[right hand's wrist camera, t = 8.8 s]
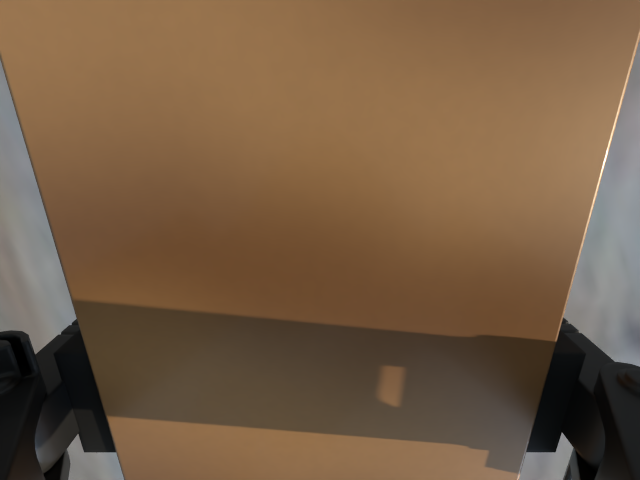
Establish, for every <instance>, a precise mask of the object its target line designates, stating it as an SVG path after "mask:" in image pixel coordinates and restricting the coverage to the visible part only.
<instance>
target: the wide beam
mask: <svg viewBox="0 0 640 480" xmlns="http://www.w3.org/2000/svg"><path fill="white" fill-rule="evenodd" d="M639 39H640V0H0V59H1V63H2V66H3V70H4V73H5V76H6V80H7V83H8V87H9V90H10V93H11V97H12V100H13V103H14V107H15V110H16V114H17V117H18V120H19V124H20V127H21V131H22V134H23V137H24V141H25V144H26V148H27V151H28V154H29V158H30V161H31V165H32V168H33V171H34V175H35V178H36V182H37V185H38V188H39V192H40V195H41V198H42V202H43V205H44V209H45V212H46V215H47V219H48V222H49V226H50V229H51V232H52V236H53V239H54V243H55V246H56V249H57V253H58V256H59V260H60V263H61V266H62V270H63V273H64V276H65V280H66V283H67V287H68V290H69V293H70V297H71V300H72V304H73V307H74V310H75V314H76V317H77V321H78V324H79V327H80V331H81V334H82V338H83V341H84V344H85V348H86V351H87V354H88V358H89V361H90V365H91V368H92V371H93V375H94V378H95V382H96V385H97V388H98V392H99V395H100V399H101V402H102V405H103V409H104V412H105V416H106V419H107V422H108V426H109V429H110V432H111V436H112V439H113V443H114V446H115V449H116V453H117V456H118V460H119V463H120V466H121V470H122V473H123V477H124V480H519V476H520V472H521V469H522V465H523V461H524V458H525V454H526V451H527V447H528V443H529V440H530V436H531V432H532V429H533V425H534V421H535V418H536V414H537V410H538V407H539V403H540V399H541V396H542V392H543V389H544V385H545V381H546V378H547V374H548V370H549V367H550V363H551V359H552V356H553V352H554V348H555V345H556V341H557V338H558V334H559V330H560V327H561V323H562V319H563V316H564V312H565V308H566V305H567V301H568V297H569V294H570V290H571V287H572V283H573V279H574V276H575V272H576V268H577V265H578V261H579V257H580V254H581V250H582V246H583V243H584V239H585V236H586V232H587V228H588V225H589V221H590V217H591V214H592V210H593V206H594V203H595V199H596V195H597V192H598V188H599V185H600V181H601V177H602V174H603V170H604V166H605V163H606V159H607V155H608V152H609V148H610V144H611V141H612V137H613V134H614V130H615V126H616V123H617V119H618V115H619V112H620V108H621V104H622V101H623V97H624V93H625V90H626V86H627V82H628V79H629V75H630V72H631V68H632V64H633V61H634V57H635V53H636V50H637V46H638V42H639Z"/></svg>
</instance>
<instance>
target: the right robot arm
mask: <svg viewBox="0 0 640 480" xmlns="http://www.w3.org/2000/svg"><path fill="white" fill-rule="evenodd" d="M561 433H563V434H564V435H565V437H566V438H567V439H568V441H569V442H570V443H571V445H572V446H573V447H574V448H573V451H572V454H571V457H570V460H569V463H568V466H567V469H566V472H565V475H564V478H563V480H640V367H639V366H636V365H633V364H627V363H621V362H614V361H613V360H612V359H611V358H610V357H609V356H607V355H606V354H605V353H604V352H603V351H602V350H600V349H599V348H598V347H597V346H596V345H595V344H594V343H592V342H591V341H590V340H589V339H588V338H587V337H585V336H584V335H583V334H582V333H579V331H578V330H577V329H576V328H575V327H574V326H573V325H571V324H568V321H567V320H566V319H564V318H563V319H562V323H561V327H560V330H559V334H558V338H557V341H556V345H555V348H554V352H553V356H552V359H551V363H550V367H549V370H548V374H547V378H546V381H545V385H544V389H543V392H542V396H541V399H540V403H539V407H538V410H537V414H536V418H535V421H534V425H533V429H532V432H531V436H530V440H529V443H528V447H527V451H526V452H556V449H557V446H558V442H559V439H560V436H561ZM77 434H79V437H80V440H81V444H82V447H83V450H84V452H116V449H115V446H114V443H113V439H112V436H111V432H110V429H109V426H108V422H107V419H106V416H105V412H104V409H103V405H102V402H101V399H100V395H99V392H98V388H97V385H96V382H95V378H94V375H93V371H92V368H91V365H90V361H89V358H88V354H87V351H86V348H85V344H84V341H83V338H82V334H81V331H80V327H79V324H78V321H77V319H76V320H75V321H74V322H73V323H72V325H69V326H68V327H67V328H66V329H64V330H63V331H62V332H61V335H58V336H56V337H55V338H54V339H53V340H52V341H51V342H49V343H48V344H47V345H46V346H45V347H44V348H43V349H41V350H40V351H39V352H38V353H37V354H36V355H35V353H34V350H33V347H32V344H31V341H30V338H29V335H28V334H26V333H24V332H23V331H4V332H0V480H68V477H69V470H70V459H69V454H68V451H67V448H68V446H69V445H70V444H71V442H72V441H73V440H74V438H75V437H76V436H77Z"/></svg>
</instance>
